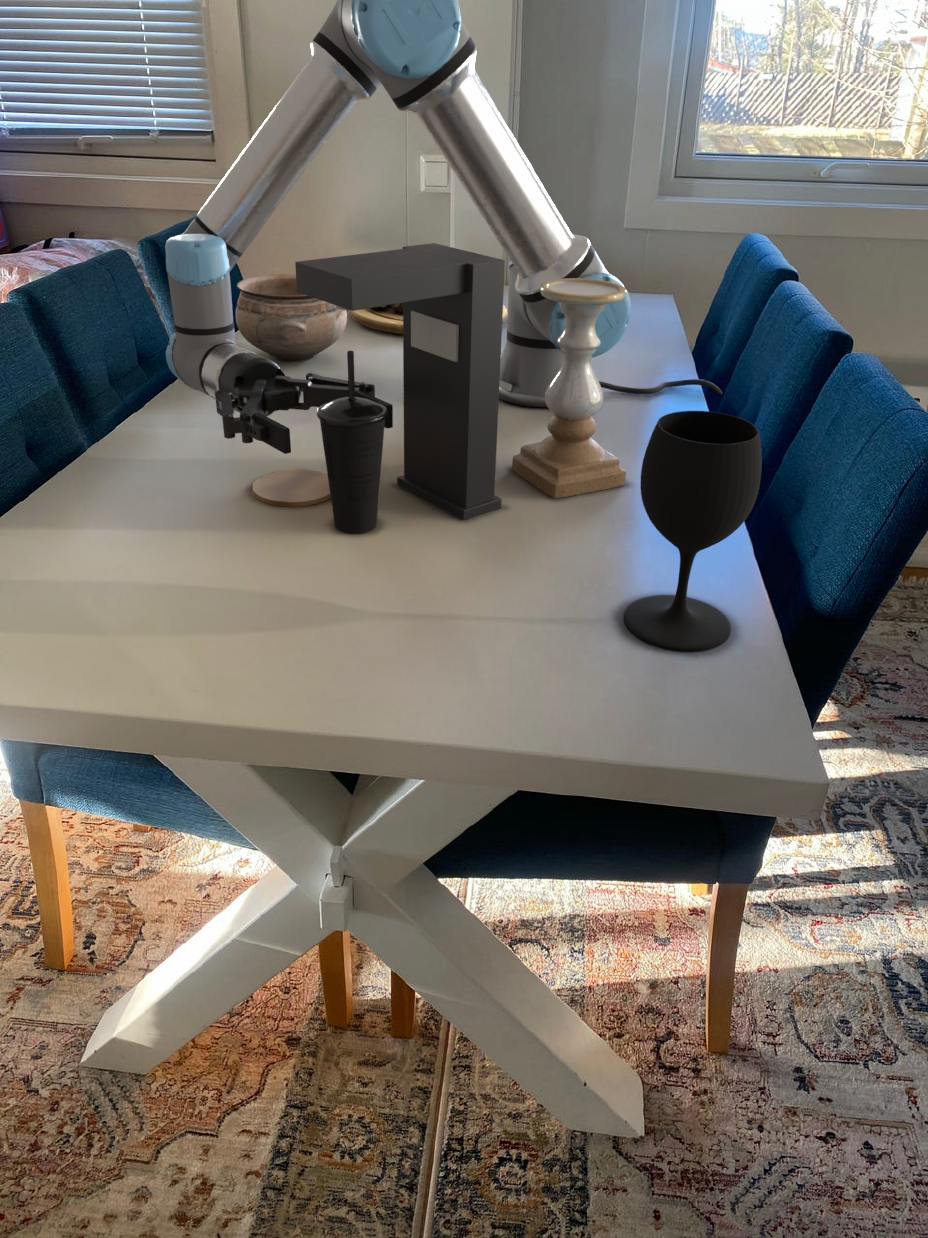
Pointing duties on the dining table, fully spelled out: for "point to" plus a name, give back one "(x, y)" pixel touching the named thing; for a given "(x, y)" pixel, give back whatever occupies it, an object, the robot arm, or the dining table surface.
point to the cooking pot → (286, 318)
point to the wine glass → (694, 516)
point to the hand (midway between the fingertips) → (340, 428)
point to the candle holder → (574, 399)
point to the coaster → (292, 488)
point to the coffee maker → (434, 360)
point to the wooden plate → (389, 317)
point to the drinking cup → (353, 456)
